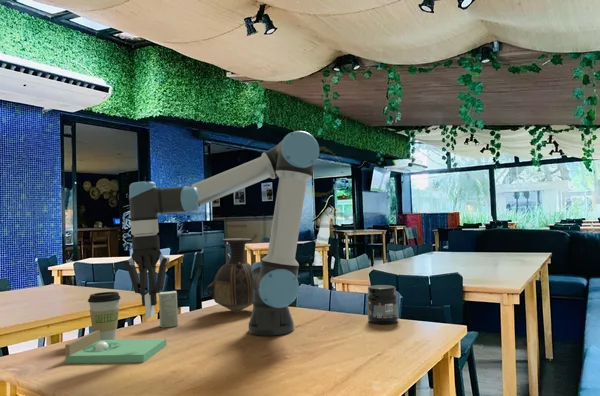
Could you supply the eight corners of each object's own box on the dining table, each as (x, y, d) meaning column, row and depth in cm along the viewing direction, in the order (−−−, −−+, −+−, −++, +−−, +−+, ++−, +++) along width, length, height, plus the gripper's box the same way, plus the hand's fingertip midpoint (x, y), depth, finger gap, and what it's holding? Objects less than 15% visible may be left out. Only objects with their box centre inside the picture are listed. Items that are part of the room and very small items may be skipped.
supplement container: (376, 317, 164) (374, 284, 165) (403, 319, 158) (401, 285, 159) (362, 323, 156) (360, 288, 156) (390, 326, 150) (388, 290, 150)
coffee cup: (109, 345, 139) (108, 296, 140) (81, 344, 141) (80, 296, 142) (127, 336, 149) (126, 291, 150) (101, 336, 151) (100, 291, 152)
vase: (202, 317, 174) (200, 240, 176) (219, 308, 194) (217, 238, 195) (259, 317, 171) (257, 238, 172) (271, 307, 190) (268, 236, 191)
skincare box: (178, 323, 166) (177, 290, 166) (177, 326, 161) (176, 292, 162) (160, 325, 164) (159, 291, 165) (159, 328, 160) (158, 293, 161)
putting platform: (166, 345, 136) (165, 328, 137) (143, 362, 120) (143, 343, 121) (96, 346, 138) (96, 330, 138) (65, 363, 122) (65, 344, 122)
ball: (112, 343, 131) (102, 338, 132) (106, 346, 128) (95, 341, 128) (108, 354, 131) (97, 349, 131) (101, 358, 127) (90, 353, 128)
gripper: (171, 233, 133) (176, 312, 132) (129, 236, 134) (134, 315, 133) (162, 234, 126) (167, 318, 125) (117, 237, 127) (122, 321, 126)
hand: (150, 316), depth 129 cm, fingers closed
